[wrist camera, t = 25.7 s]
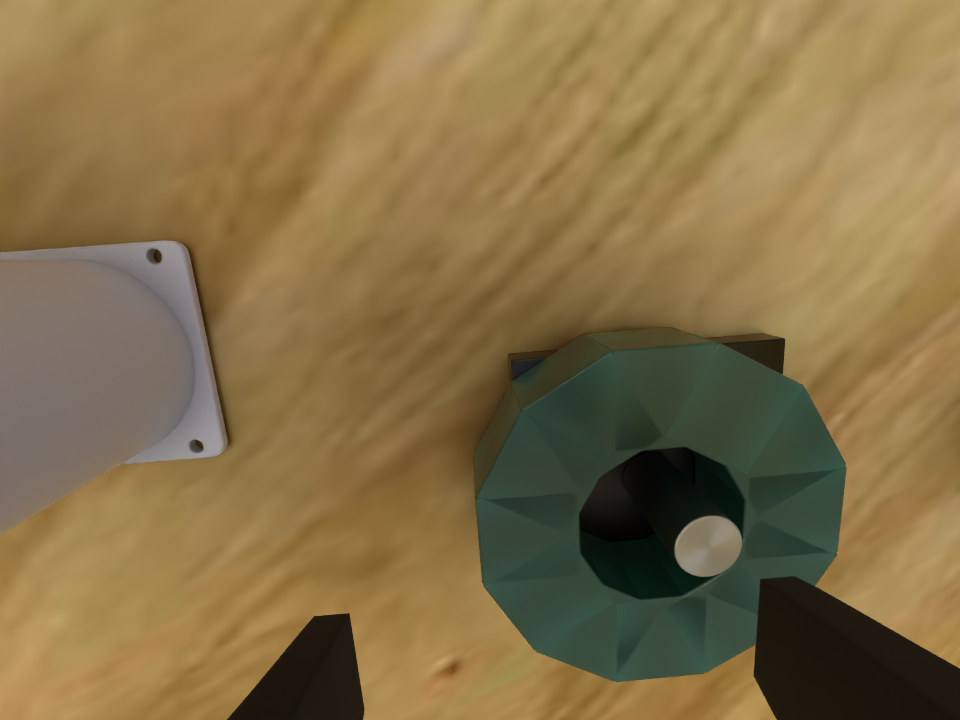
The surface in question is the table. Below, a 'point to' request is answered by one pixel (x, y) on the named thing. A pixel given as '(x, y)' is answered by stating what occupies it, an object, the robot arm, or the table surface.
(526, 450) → the ring
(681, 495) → the peg stand
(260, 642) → the table surface
